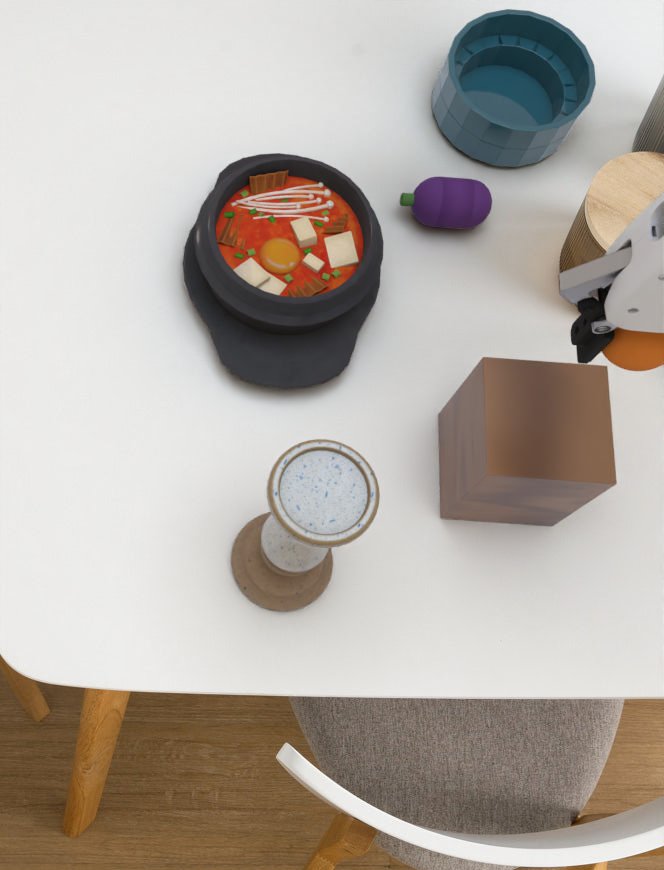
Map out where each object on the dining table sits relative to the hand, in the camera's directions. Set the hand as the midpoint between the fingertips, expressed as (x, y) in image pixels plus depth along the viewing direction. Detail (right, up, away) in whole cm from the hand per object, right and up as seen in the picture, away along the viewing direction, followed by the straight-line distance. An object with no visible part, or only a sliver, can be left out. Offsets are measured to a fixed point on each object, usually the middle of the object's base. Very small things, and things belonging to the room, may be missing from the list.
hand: (625, 345), depth 64 cm
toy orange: (0, 0, 0) cm, 1 cm away
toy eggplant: (-3, +17, +30) cm, 35 cm away
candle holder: (-21, -16, +20) cm, 33 cm away
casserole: (-20, +11, +28) cm, 36 cm away
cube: (-1, -8, +23) cm, 24 cm away
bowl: (+4, +29, +34) cm, 45 cm away
